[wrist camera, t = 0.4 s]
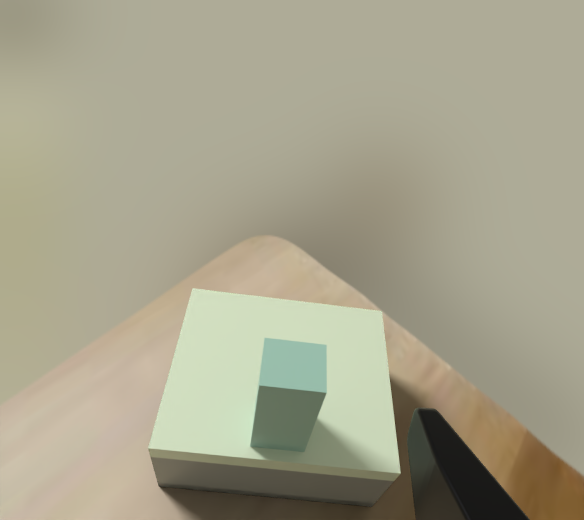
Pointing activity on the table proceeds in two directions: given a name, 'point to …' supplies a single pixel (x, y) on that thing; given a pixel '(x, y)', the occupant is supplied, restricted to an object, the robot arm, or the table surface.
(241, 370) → the lid
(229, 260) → the table surface
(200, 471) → the tub
